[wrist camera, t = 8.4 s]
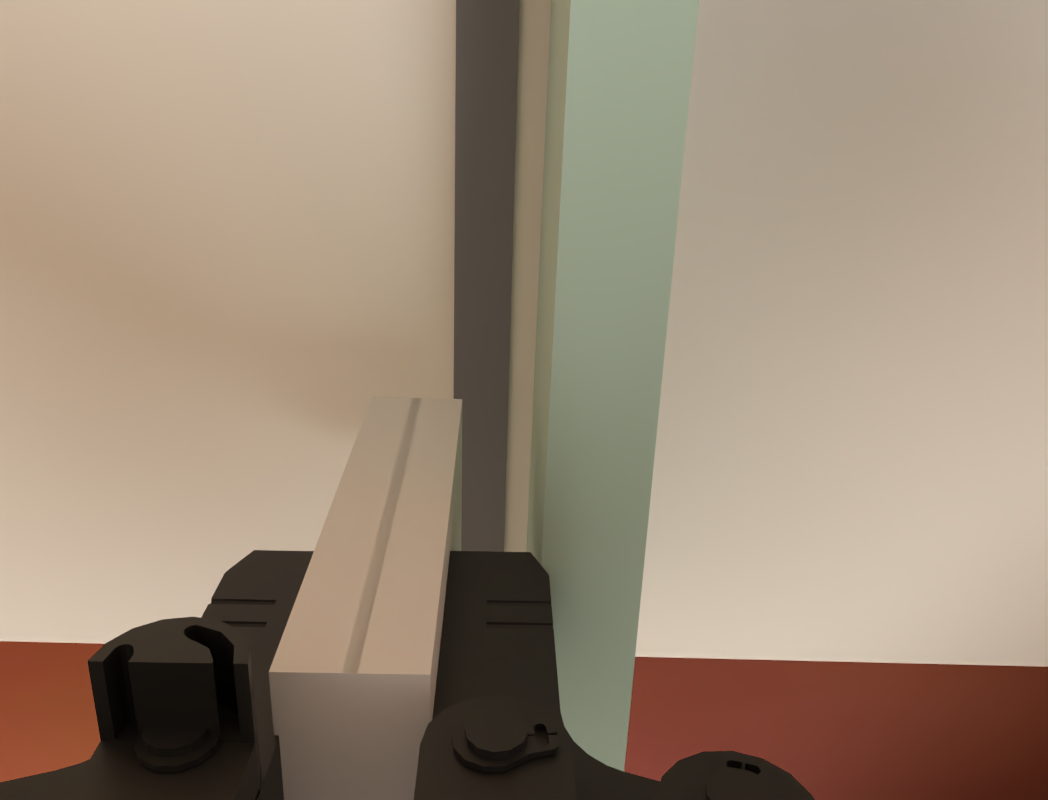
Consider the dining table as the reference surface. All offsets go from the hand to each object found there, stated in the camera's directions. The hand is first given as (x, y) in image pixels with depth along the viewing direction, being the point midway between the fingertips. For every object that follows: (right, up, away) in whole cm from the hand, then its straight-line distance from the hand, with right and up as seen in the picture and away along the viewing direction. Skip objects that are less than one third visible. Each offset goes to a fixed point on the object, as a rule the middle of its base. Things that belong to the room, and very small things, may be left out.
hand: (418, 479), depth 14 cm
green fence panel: (+2, +3, +2) cm, 4 cm away
